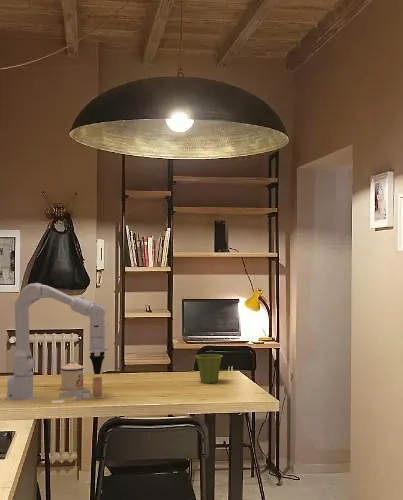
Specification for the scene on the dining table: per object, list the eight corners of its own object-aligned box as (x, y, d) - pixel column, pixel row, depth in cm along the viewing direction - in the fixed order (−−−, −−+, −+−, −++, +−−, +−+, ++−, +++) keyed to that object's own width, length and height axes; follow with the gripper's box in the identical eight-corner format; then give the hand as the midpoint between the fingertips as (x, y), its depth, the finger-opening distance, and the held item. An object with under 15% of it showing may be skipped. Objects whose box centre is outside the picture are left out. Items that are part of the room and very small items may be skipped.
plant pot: (223, 379, 282) (223, 353, 283) (221, 384, 271) (221, 358, 271) (196, 379, 284) (196, 353, 284) (193, 384, 272) (193, 357, 272)
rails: (57, 402, 237) (57, 396, 237) (59, 395, 249) (59, 390, 249) (89, 400, 239) (89, 395, 239) (90, 394, 251) (90, 389, 251)
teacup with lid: (80, 391, 258) (80, 362, 258) (58, 391, 259) (58, 362, 259) (88, 386, 270) (88, 358, 270) (66, 385, 271) (66, 357, 271)
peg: (92, 397, 245) (92, 378, 245) (92, 395, 248) (92, 376, 248) (102, 396, 245) (102, 378, 245) (102, 394, 249) (102, 376, 249)
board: (50, 405, 234) (50, 403, 234) (53, 396, 249) (53, 395, 249) (105, 402, 237) (105, 401, 237) (105, 394, 252) (105, 393, 252)
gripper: (108, 338, 241) (108, 375, 240) (107, 334, 255) (107, 368, 255) (88, 339, 239) (88, 375, 239) (89, 334, 254) (89, 369, 254)
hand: (97, 372), depth 247 cm, fingers open, 7 cm apart
